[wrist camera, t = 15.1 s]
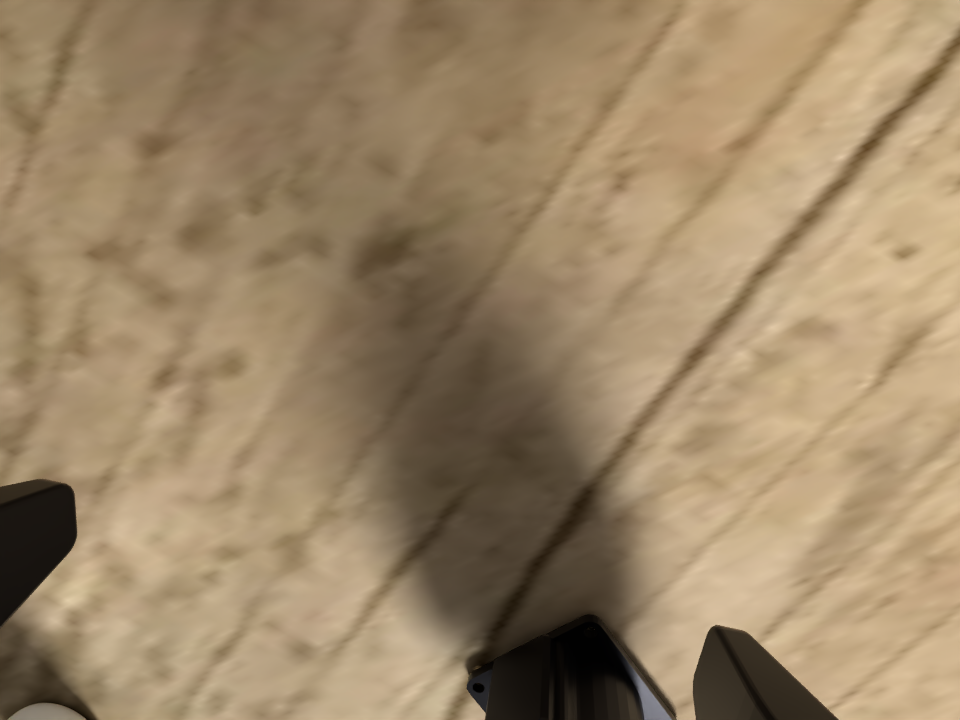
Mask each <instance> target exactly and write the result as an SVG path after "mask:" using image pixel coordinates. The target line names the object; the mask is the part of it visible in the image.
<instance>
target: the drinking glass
mask: <svg viewBox="0 0 960 720" xmlns="http://www.w3.org/2000/svg"><path fill="white" fill-rule="evenodd" d="M7 720H87V719H85V718H84V717H83V716H82V715H80V714H79V713H77V712H76V711H74V710H72V709H70V708H68V707H65V706H62V705H59V704H54V703H36V704H32V705H29V706H26V707H24V708H22V709H20V710H19V711H17V712H16V713H14V714H13V715H12V716H11V717H10V718H8V719H7Z"/></svg>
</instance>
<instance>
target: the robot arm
mask: <svg viewBox="0 0 960 720" xmlns="http://www.w3.org/2000/svg"><path fill="white" fill-rule="evenodd" d="M76 538H77V521H76V507H75V494H74V491H73V489H72V488H71V486H69V485H67V484H65V483H61V482H56V481H51V480H47V479H36V480H31V481H26V482H21V483H16V484H12V485H7V486H2V487H0V628H1V627H2V626H3V625H4V624H5V623H6V622H7V620H8V619H9V618H10V617H11V616H12V615H13V614H14V613H15V612H16V611H17V609H18V608H19V607H20V606H21V605H22V604H23V603H24V602H25V601H26V600H27V598H28V597H29V596H30V595H31V594H32V593H33V592H34V591H35V590H36V589H37V587H38V586H39V585H40V584H41V583H42V582H43V581H44V580H45V579H46V578H47V576H48V575H49V574H50V573H51V572H52V571H53V570H54V569H55V568H56V567H57V565H58V564H59V563H60V562H61V561H62V560H63V559H64V558H65V557H66V556H67V554H68V553H69V552H70V551H71V549H72V548H73V546H74V544H75V541H76ZM588 627H593V628H595V630H592V631H589V630H587V629H586V628H588ZM476 683H481V684H482V685H478V684H476ZM467 690H468V692H469V693H470V694H471V696H472V697H473V698H474V699H475V700H476V702H477V703H478V704H479V705H480V707H481V708H482V709H483V710H484V711H485V713H486V716H485V720H677V719H676V718H675V717H674V716H673V714H672V713H671V712H670V710H669V709H668V708H667V706H666V705H665V704H664V702H663V701H662V700H661V698H660V697H659V696H658V694H657V693H656V692H655V690H654V689H653V688H652V687H651V685H650V684H649V683H648V681H647V680H646V679H645V677H644V676H643V675H642V673H641V672H640V671H639V669H638V668H637V667H636V665H635V664H634V663H633V661H632V660H631V659H630V658H629V656H628V655H627V654H626V652H625V651H624V650H623V648H622V647H621V646H620V644H619V643H618V642H617V640H616V639H615V638H614V636H613V635H612V634H611V632H610V631H609V630H608V629H607V627H606V626H605V625H604V623H603V622H602V621H601V620H600V619H599V618H598V617H597V616H594V615H585V616H582V617H580V618H578V619H576V620H574V621H572V622H570V623H568V624H566V625H564V626H562V627H560V628H558V629H556V630H554V631H552V632H550V633H548V634H546V635H542V636H540V637H538V638H536V639H534V640H532V641H530V642H528V643H526V644H524V645H522V646H520V647H518V648H516V649H514V650H512V651H510V652H508V653H506V654H504V655H502V656H500V657H498V658H496V659H495V660H494V661H493V662H491V663H489V664H487V665H485V666H483V667H481V668H479V669H477V670H475V671H473V672H472V673H471V674H470V675H469V677H468V682H467ZM693 698H694V706H695V715H696V720H839V719H837V718H836V717H835V716H834V715H833V714H832V713H831V712H830V711H829V710H828V709H827V708H826V707H825V706H824V705H823V704H822V703H821V702H820V701H819V700H818V699H817V698H815V697H814V696H813V695H812V694H811V693H810V692H809V691H808V690H807V689H806V688H805V687H804V686H803V685H802V684H801V683H800V682H799V681H798V680H797V679H796V678H795V677H794V676H792V675H791V674H790V673H789V672H788V671H787V670H786V669H785V668H784V667H783V666H782V665H781V664H780V663H779V662H778V661H777V660H776V659H775V658H774V657H773V656H772V655H770V654H769V653H768V652H767V651H766V650H765V649H764V648H763V647H762V646H761V645H760V644H759V643H758V642H757V641H756V640H755V639H754V638H753V637H752V636H751V635H749V634H748V633H747V632H745V631H743V630H738V629H734V628H729V627H724V626H720V625H715V626H713V627H711V628H710V630H709V631H708V634H707V636H706V639H705V643H704V646H703V649H702V652H701V655H700V658H699V661H698V665H697V668H696V671H695V674H694V680H693Z"/></svg>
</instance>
